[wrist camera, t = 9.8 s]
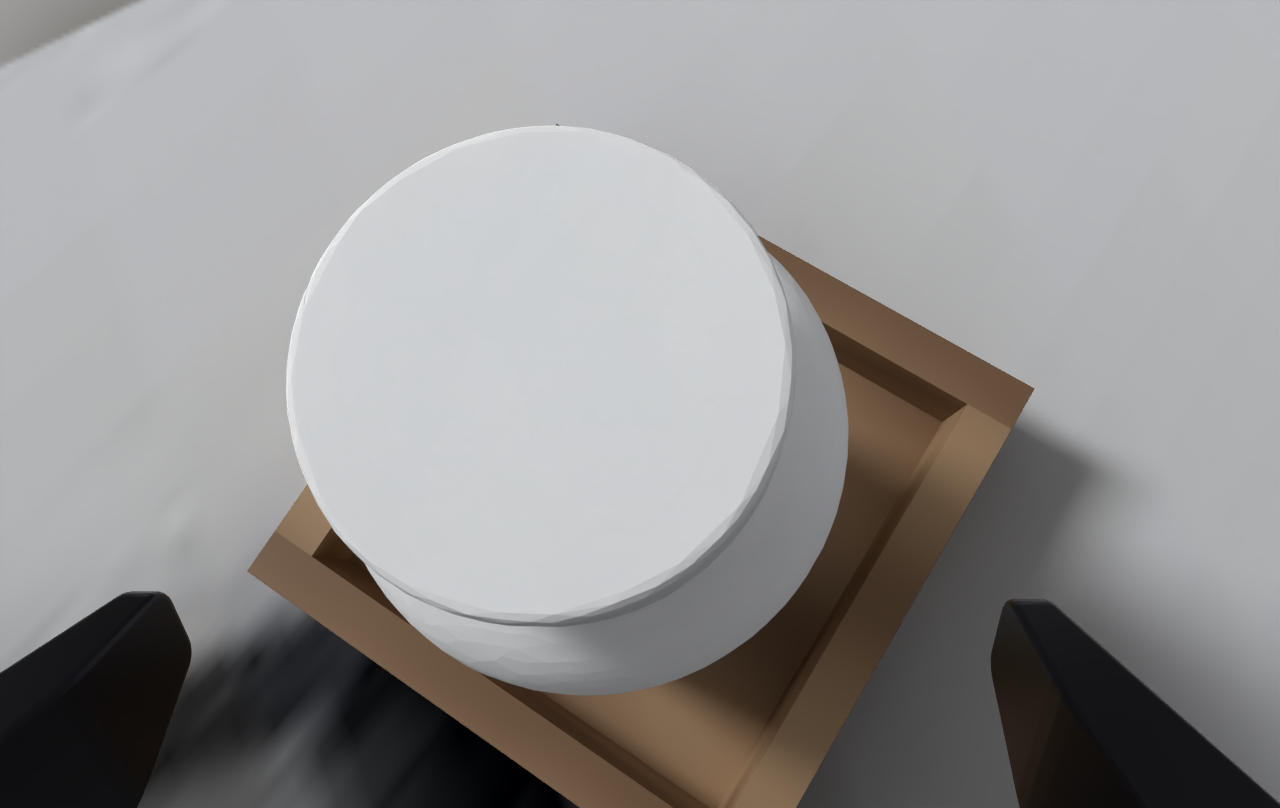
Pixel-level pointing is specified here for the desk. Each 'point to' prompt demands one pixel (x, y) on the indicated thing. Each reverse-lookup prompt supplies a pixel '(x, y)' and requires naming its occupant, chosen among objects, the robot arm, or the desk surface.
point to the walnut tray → (780, 651)
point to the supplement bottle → (567, 410)
